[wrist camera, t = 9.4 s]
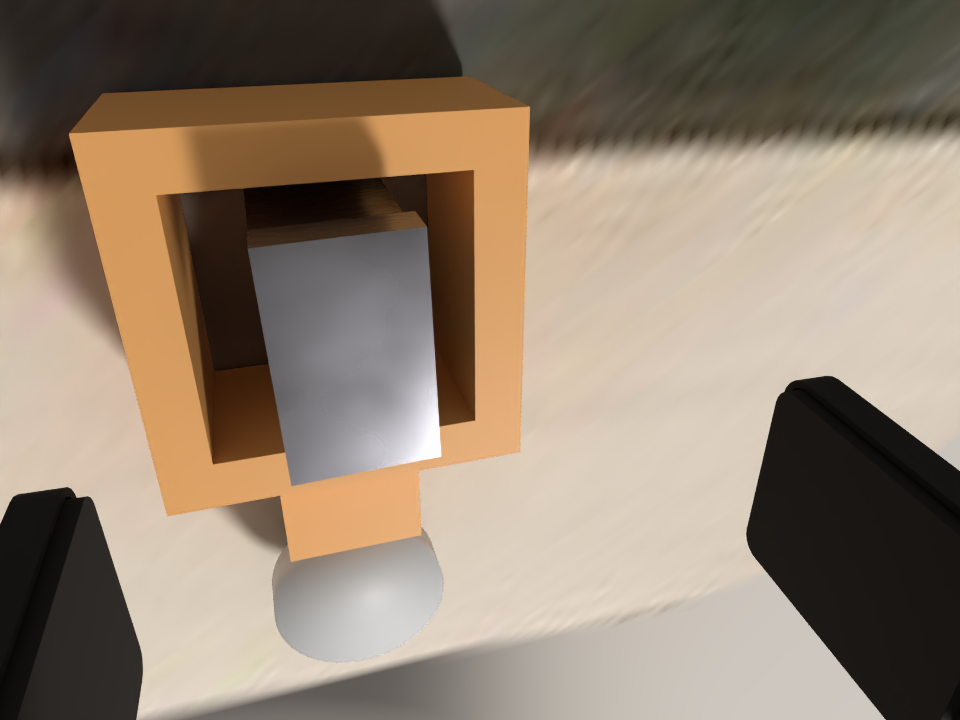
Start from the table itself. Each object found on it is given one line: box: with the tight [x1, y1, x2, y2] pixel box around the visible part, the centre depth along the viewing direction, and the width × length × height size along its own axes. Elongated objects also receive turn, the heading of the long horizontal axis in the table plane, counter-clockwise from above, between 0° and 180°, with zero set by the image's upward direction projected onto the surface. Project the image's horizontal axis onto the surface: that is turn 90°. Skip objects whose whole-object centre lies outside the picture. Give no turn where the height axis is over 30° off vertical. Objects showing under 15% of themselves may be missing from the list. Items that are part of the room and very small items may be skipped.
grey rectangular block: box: [244, 178, 441, 486], centre depth 17 cm, size 3×5×6 cm, turn 1°
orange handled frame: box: [69, 76, 530, 663], centre depth 20 cm, size 17×9×4 cm, turn 0°
